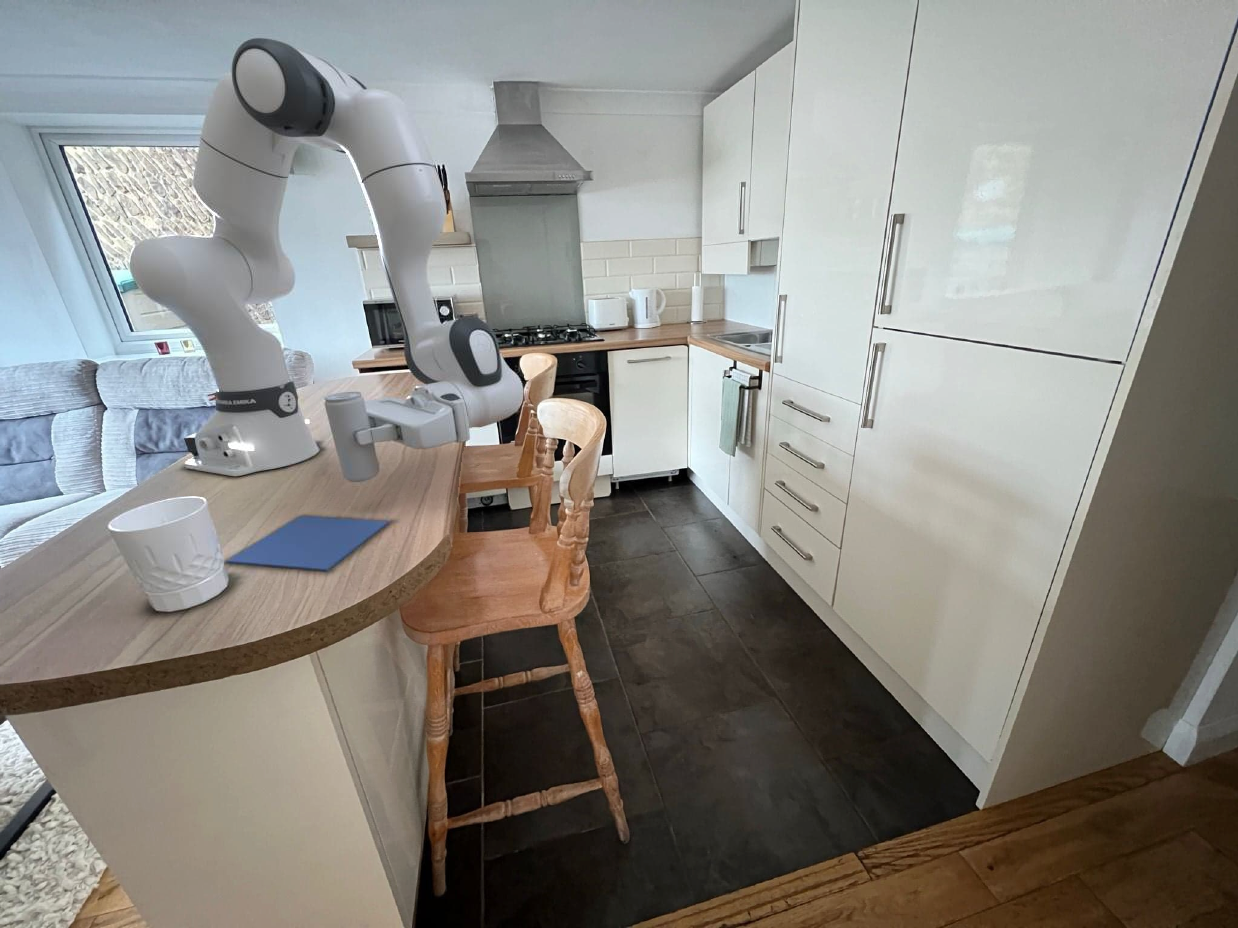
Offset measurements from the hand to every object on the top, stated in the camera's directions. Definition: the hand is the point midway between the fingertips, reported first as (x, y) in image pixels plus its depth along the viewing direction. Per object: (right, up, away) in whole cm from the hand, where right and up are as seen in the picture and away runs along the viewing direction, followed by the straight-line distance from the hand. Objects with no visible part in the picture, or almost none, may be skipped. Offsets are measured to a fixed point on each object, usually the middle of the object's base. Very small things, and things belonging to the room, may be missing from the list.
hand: (345, 434), depth 70 cm
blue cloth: (-2, -14, -4) cm, 15 cm away
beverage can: (+1, -6, +3) cm, 7 cm away
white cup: (-9, -19, -14) cm, 25 cm away
